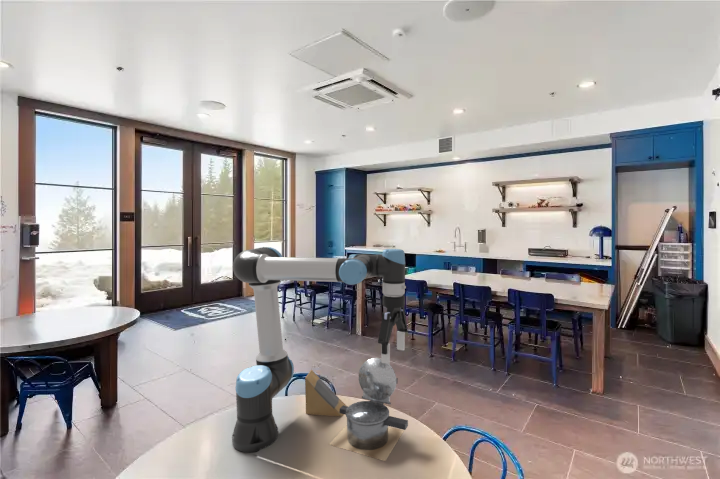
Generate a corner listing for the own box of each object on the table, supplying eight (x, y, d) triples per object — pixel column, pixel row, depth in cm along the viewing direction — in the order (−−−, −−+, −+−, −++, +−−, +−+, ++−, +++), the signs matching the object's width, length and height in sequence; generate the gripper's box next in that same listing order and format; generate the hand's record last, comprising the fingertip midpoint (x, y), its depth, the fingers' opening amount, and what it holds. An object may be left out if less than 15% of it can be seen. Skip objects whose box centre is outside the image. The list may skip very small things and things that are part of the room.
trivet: (328, 446, 122) (328, 444, 122) (353, 419, 138) (353, 417, 138) (385, 463, 113) (385, 461, 113) (404, 432, 129) (404, 430, 129)
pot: (331, 441, 123) (330, 415, 123) (352, 418, 137) (351, 395, 137) (399, 461, 113) (398, 433, 112) (414, 434, 127) (414, 408, 127)
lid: (359, 355, 136) (362, 354, 138) (357, 397, 135) (360, 395, 137) (396, 361, 129) (399, 360, 132) (394, 406, 128) (397, 403, 131)
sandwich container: (345, 418, 139) (344, 379, 138) (305, 416, 141) (304, 377, 140) (348, 407, 147) (348, 370, 146) (311, 404, 149) (310, 368, 149)
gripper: (389, 303, 112) (389, 371, 113) (416, 289, 134) (415, 346, 135) (367, 300, 115) (367, 367, 117) (397, 287, 138) (396, 343, 139)
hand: (393, 356), depth 126 cm, fingers open, 13 cm apart
